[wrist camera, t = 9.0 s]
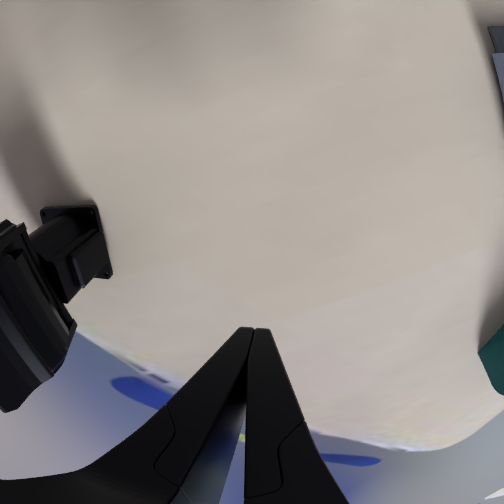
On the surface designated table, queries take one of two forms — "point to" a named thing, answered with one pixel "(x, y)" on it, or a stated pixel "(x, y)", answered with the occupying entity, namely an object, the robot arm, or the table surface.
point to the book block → (499, 69)
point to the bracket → (494, 360)
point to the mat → (497, 37)
